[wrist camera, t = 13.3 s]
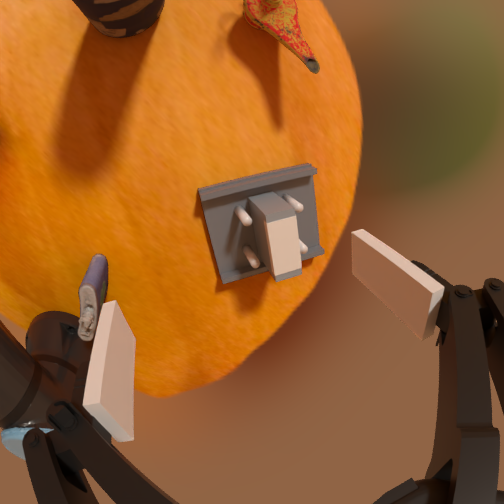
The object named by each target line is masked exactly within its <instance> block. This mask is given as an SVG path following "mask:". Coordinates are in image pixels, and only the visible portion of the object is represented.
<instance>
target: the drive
mask: <svg viewBox="0 0 504 504" xmlns="http://www.w3.org/2000/svg"><path fill="white" fill-rule="evenodd" d="M248 201H249V206H250V212H251V217H252V222H253V228H254V233H255V239H256V244H257V249H258V255H259V256H260V258H261V260H262V261H263V263H264V264H265V266H266V267H267V269H268V270H269V272H270V273H271V275H272V276H273V278H274V280H275V281H276V282H278V281H281V280H285V279H288V278H291V277H294V276H298V275H301V274H302V270H301V268H302V263H301V254H300V245H299V236H298V227H297V219H296V215H295V208H294V207H293V206H291V205H290V204H289V203H287V202H286V201H285V200H284V199H282V198H281V197H279V196H278V195H277V194H275V193H274V192H273V191H270V192H266V193H262V194H258V195H254V196H250V197H248Z"/></svg>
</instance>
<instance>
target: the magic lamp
mask: <svg viewBox="0 0 504 504" xmlns="http://www.w3.org/2000/svg"><path fill="white" fill-rule="evenodd" d="M243 6H244V17H245V20H246V21H247V22H248V23H249V24H250V25H251V26H252V27H254V28H257V29H261V30H265V31H267V32H268V33H269V34H271V35H272V36H273V37H274V38H276V39H277V40H278V41H279V42H280V43H282V44H283V45H284V46H285V47H286V48H288V49H289V50H290V51H291V52H293V53H294V54H295V55H296V56H297V57H298V58H299V59H300V60H301V61H302V62H303V63H304V64H305V65H306V66H307V67H308V69H309V70H310V71H311V72H312V73H315V74H317V73H318V72H319V70H320V67H319V63H318V61H317V59H316V58H315V56H314V54H313V53H312V51H311V49H310V48H309V46H308V44H307V43H306V41H305V39H304V38H303V35H302V33H301V30H300V26H299V21H298V8H297V4H296V1H295V0H244V2H243Z"/></svg>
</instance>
